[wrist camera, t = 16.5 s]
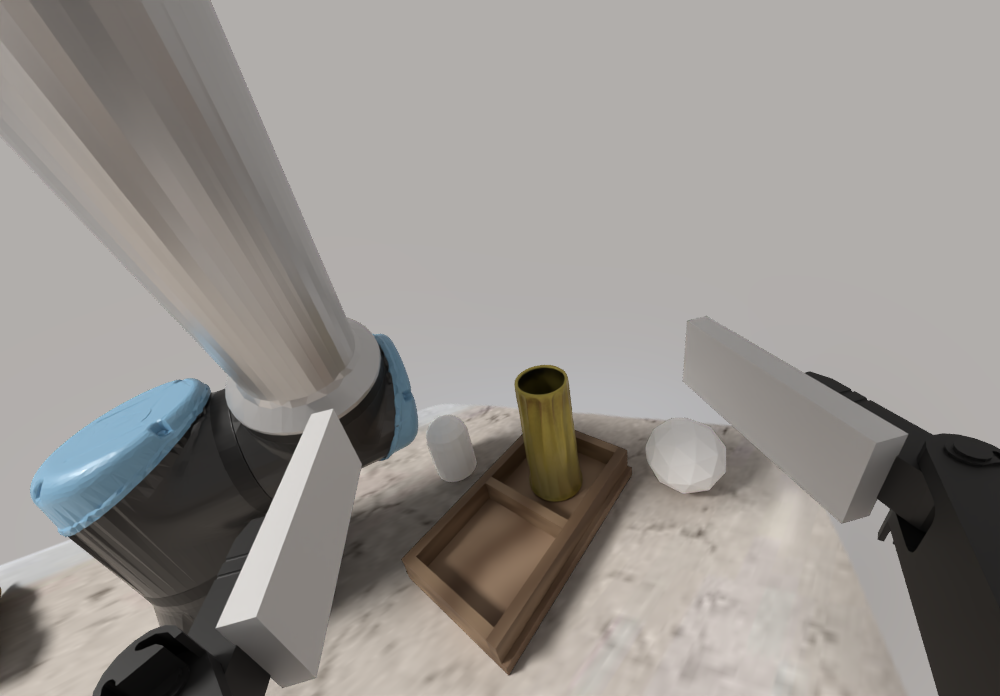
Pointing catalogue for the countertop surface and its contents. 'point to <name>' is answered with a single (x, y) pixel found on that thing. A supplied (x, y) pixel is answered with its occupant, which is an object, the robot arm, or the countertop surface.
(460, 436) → the white dome-topped block
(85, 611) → the countertop surface
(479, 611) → the tray
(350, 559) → the countertop surface
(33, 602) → the countertop surface
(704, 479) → the ball
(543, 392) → the vase
